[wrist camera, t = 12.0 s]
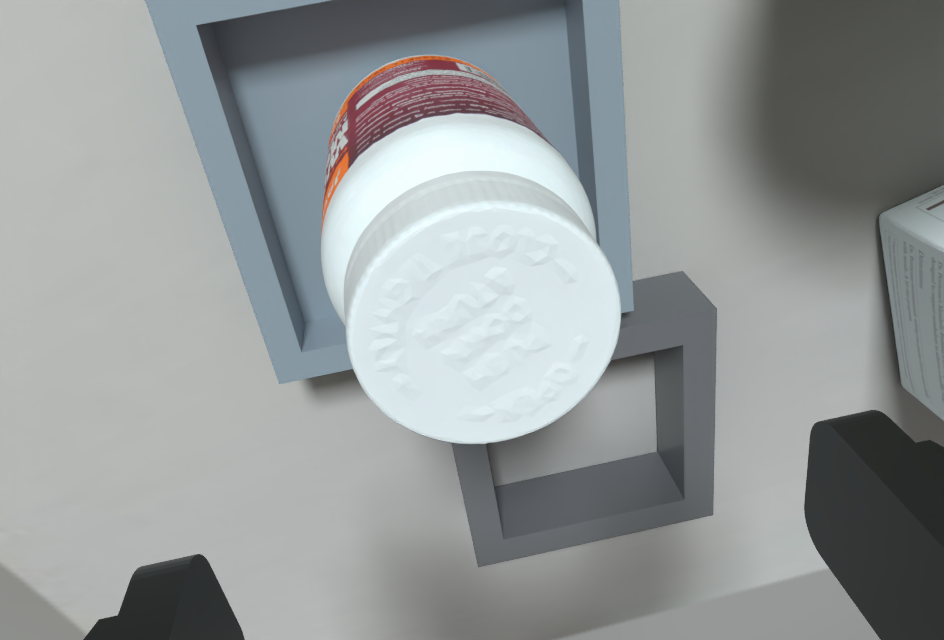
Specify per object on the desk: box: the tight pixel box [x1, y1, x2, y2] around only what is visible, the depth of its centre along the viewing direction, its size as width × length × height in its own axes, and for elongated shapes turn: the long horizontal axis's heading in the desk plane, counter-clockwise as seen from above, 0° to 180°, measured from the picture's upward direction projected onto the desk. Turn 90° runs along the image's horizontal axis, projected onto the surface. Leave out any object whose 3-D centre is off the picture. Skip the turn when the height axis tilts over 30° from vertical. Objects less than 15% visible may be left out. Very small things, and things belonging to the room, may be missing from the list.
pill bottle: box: [321, 55, 621, 444], centre depth 18 cm, size 6×6×11 cm
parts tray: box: [145, 0, 634, 384], centre depth 23 cm, size 12×12×3 cm
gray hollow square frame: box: [452, 271, 717, 567], centre depth 29 cm, size 10×10×3 cm
